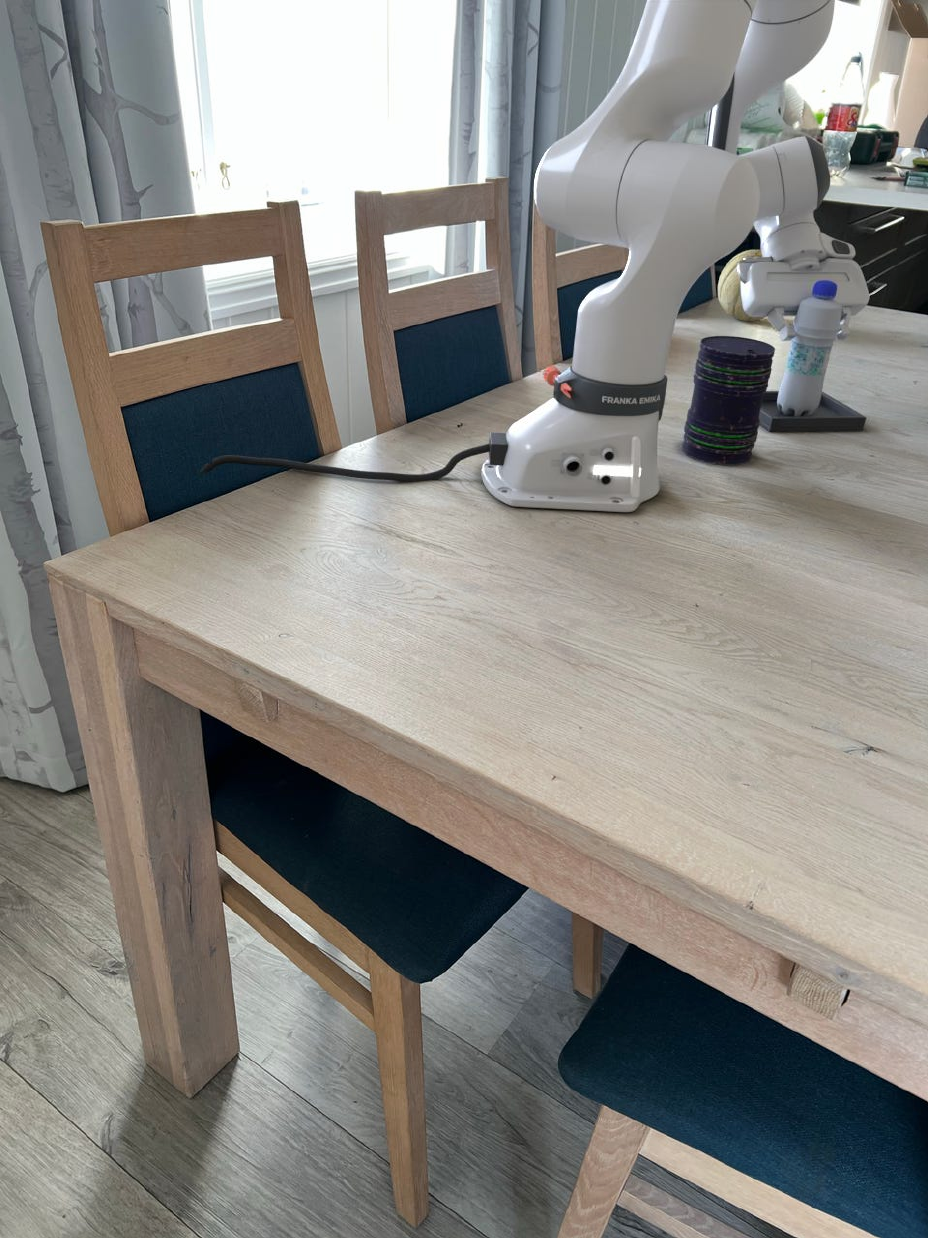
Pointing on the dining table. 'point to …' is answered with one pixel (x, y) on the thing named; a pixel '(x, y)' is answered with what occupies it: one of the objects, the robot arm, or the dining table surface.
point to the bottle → (810, 350)
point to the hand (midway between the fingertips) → (816, 338)
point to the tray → (823, 419)
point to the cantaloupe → (734, 287)
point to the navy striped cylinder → (727, 399)
